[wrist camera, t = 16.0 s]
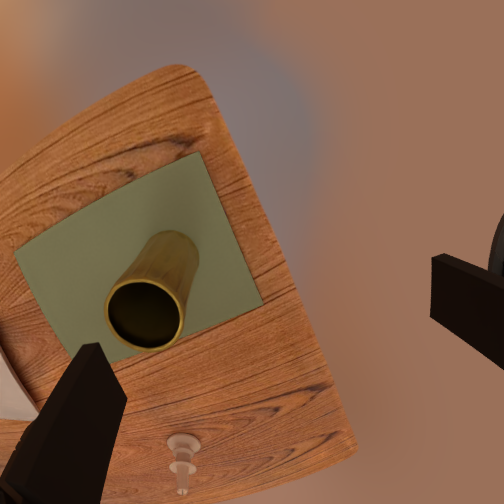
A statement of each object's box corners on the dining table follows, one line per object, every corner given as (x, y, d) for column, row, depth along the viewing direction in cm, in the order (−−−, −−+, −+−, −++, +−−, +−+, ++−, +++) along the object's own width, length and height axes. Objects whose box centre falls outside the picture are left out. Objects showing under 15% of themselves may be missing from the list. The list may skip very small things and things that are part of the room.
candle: (178, 428, 37) (175, 482, 27) (207, 441, 39) (209, 494, 29) (161, 443, 38) (155, 495, 28) (189, 456, 39) (189, 506, 29)
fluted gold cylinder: (133, 242, 30) (81, 289, 16) (186, 220, 30) (166, 254, 16) (156, 293, 32) (125, 368, 18) (208, 274, 32) (207, 343, 18)
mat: (199, 151, 30) (198, 150, 29) (262, 302, 34) (263, 304, 34) (16, 250, 29) (13, 252, 28) (83, 370, 33) (81, 373, 33)
